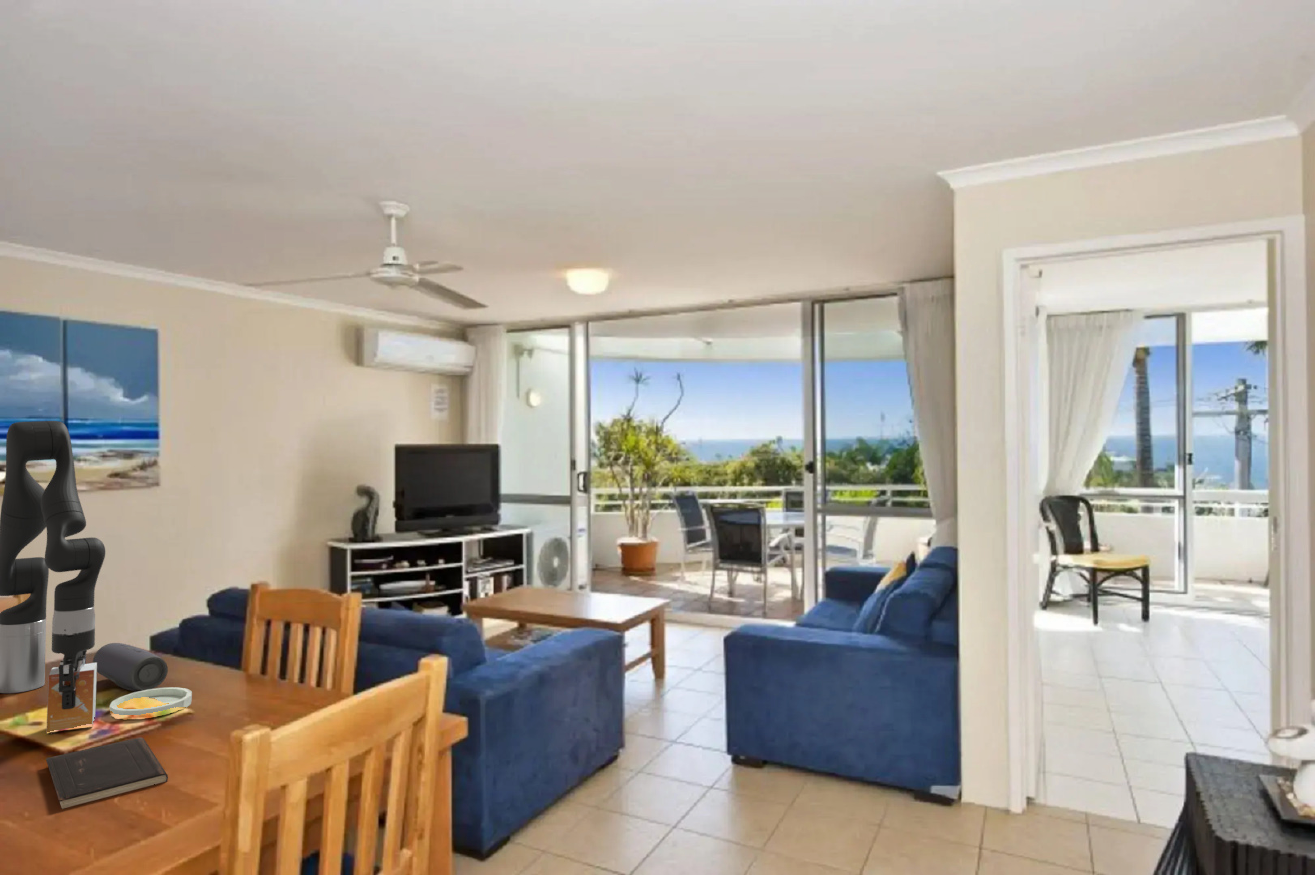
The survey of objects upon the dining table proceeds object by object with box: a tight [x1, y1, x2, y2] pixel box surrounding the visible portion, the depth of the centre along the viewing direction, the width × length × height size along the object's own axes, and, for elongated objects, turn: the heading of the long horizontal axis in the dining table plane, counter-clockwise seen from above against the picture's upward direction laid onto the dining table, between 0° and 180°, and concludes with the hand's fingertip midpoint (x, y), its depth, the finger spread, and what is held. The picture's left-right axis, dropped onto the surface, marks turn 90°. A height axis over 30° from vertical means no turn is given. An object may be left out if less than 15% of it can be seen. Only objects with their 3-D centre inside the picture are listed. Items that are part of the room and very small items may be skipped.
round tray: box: [109, 686, 193, 715], centre depth 176 cm, size 16×16×2 cm
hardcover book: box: [45, 737, 169, 810], centre depth 141 cm, size 16×23×2 cm
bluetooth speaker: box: [92, 642, 169, 692], centre depth 191 cm, size 23×9×10 cm, turn 58°
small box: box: [46, 662, 98, 733], centre depth 163 cm, size 8×6×13 cm
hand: (72, 703), depth 163 cm, fingers closed on small box, 6 cm apart
